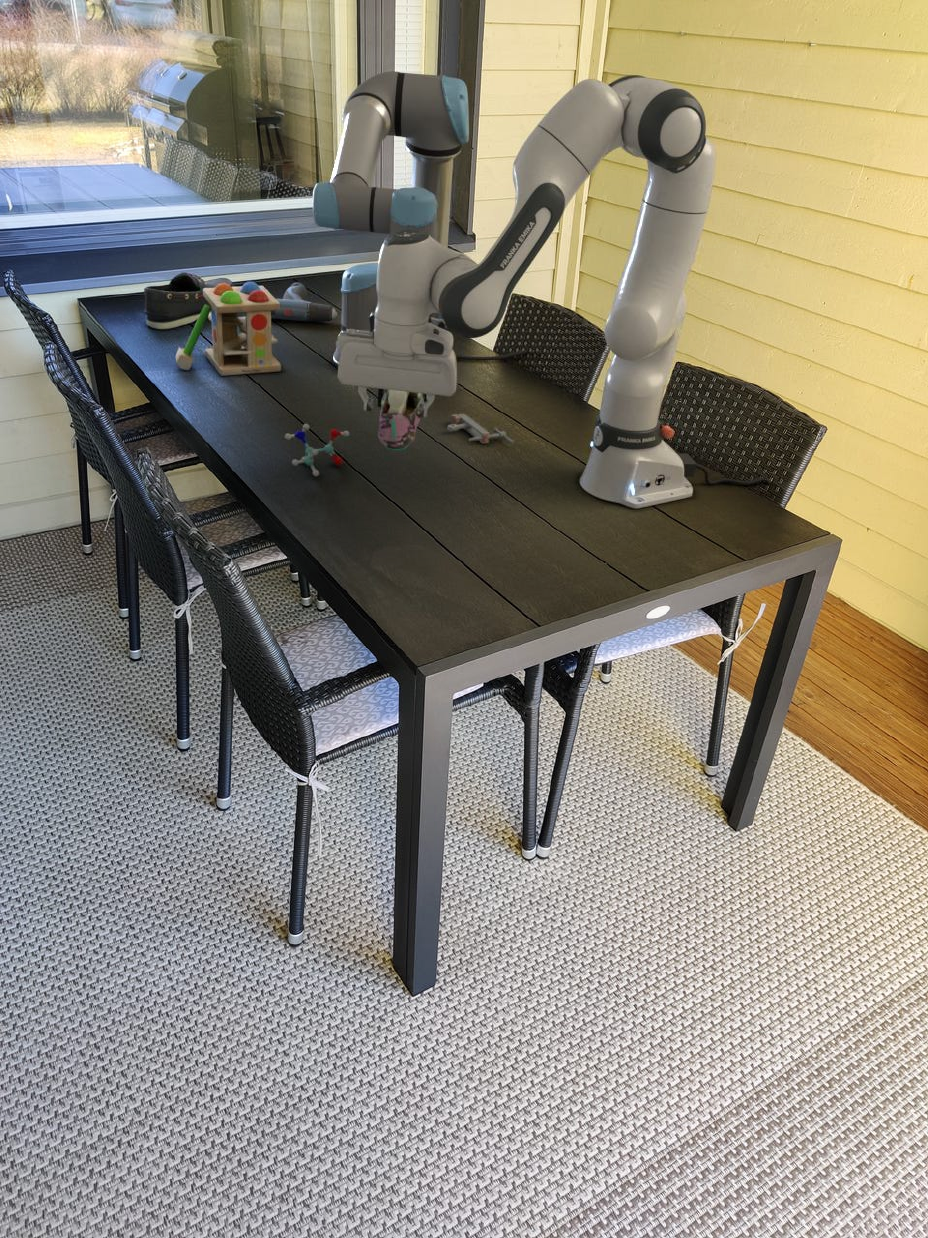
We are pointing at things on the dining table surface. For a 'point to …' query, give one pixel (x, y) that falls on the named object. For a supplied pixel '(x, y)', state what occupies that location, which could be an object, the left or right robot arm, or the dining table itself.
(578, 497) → the dining table surface
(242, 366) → the pounding bench toy
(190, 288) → the boat shoe
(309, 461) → the molecular model
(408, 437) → the ballet flat
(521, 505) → the dining table surface
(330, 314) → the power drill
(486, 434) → the clamp
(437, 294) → the right robot arm
